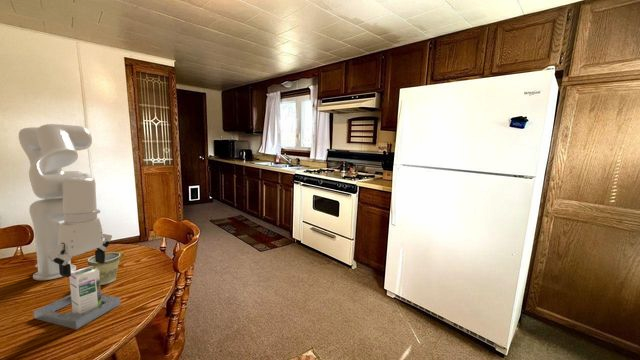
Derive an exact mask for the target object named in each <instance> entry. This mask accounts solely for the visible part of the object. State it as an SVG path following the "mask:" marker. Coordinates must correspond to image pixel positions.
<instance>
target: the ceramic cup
mask: <svg viewBox="0 0 640 360" xmlns="http://www.w3.org/2000/svg"><path fill="white" fill-rule="evenodd" d="M124 255H125V253H124V252H123V251H119V252H115V251H113V252H112V251H111V252H110V251H108V252H105V263H98V262H96V261H95V255H93V256H90V257H88V258H87V265H88V267H89V266H94V267H96V268H97V269H98V270H99V276H100V286H102V285H108V284H111V283H113V282H114V281H116V279H117V273H118V267H119V263H120V262H121V261H122V259H123V258H124V257H125V256H124Z"/></svg>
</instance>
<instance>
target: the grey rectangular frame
mask: <svg viewBox="0 0 640 360" xmlns="http://www.w3.org/2000/svg"><path fill="white" fill-rule="evenodd" d="M101 304H102V305H101V306H99V307H97V308H95V309H93V310H91V311H90V312H88V313H86V314H84V315H80V314H76V313H73V311H72V312H71V311H67V312H65V313H60V312H57V311H58V310H61V309H63V308H65V307H67V306H69V305H72V299H71V293H70V294H69V295H66V296H64V297H62V298H60V299H57V300H55V301H53V302H51V303H48V304H46V305H43V306H42V307H40V308H38V309H35V310H33V316H34V319H36V320H39V321H42V322H46V323H48V324H49V323H50V324H54V325H58V326H62V327H64V328H69V329H71V330H72V329H73V330H79V329H80V328H82V327H84V326H85V325H88V324H90V323H91V322H93V321H94V320H96V319H98V318H100V317H101V316H103V315H105V314H107V313H108V312H110V311H112V310H114V309H115V308H117V307H119V306H121V297H119V296H113V295H109V294H105V293H101Z"/></svg>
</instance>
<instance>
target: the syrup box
mask: <svg viewBox="0 0 640 360" xmlns="http://www.w3.org/2000/svg"><path fill="white" fill-rule="evenodd" d="M68 278H69V287H70V294H71V299H72V303H71V309H72V310H71V311H72V313H76V314H80V315H84V314H86V313H88V312H90V311H91V310H93V309H95V308H97V307H99V306H101V305H102V304H101V294H102V292H101V291H102V290H101V285H100V276H99V270H98V269H97V268H96V267H94V266H89V265H88V266H87V267H83V268H80V269H78V270H77V269H76V270H75V271H72V272H71V276H70V277H68Z"/></svg>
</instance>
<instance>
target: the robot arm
mask: <svg viewBox="0 0 640 360" xmlns="http://www.w3.org/2000/svg"><path fill="white" fill-rule="evenodd" d="M18 140H19V144H20V146H21V148H22V150H23V151H24V153H25V155H26V157H27V158H28V160H29V164H30V167H29V170H28V178H29V182H30V185H31V189H32V191H33V193H34V195H35V196H36V197H37V198H39V200H35V201H33V202H32V203H31V204H30V205H29V208H28V210H29V211H28V212H29V215H30V216H29V217H30V218H31V221H32V225H33V230H34V237H35V249H36V260H37V263H36V264H35V268H37V272H35V273H34V274H33V275H32V279H33V280H36V281H49V280H54V279H55V280H56V279H58V278H62V277H66V278H69V277H70V276H71V272H72V271H76V270H77V266H76V265H75V264H72V262H71V261H72V260H71V259H72V258H73V257H75V256H79V255H83V254H85V253H88V252H90V251H93V250H95V252H94V256H95V261H96V262H98V263H105V253H106V251H107V247H109V246H110V243H111V240H112V238H113V235H111V234H106V233H103V232H104V231H103V228H102V224H101V221H100V217H99V218H98V214H101V210H100V209H99V208H97V206H98V205H97V193H96V192H97V191H96V189H97V187H96V179H95V178H94V177H93V176H92V175H91V174H88V173H85V172H84V173H83V172H82V171H77V170H71V171H70V170H67V171H66V170H65V171H64V170H62V169H63V168H65V167H68V166H71V165H72V164H74V163H75V162H76V161H77V160H78V158H79V157H78V156H79V155H78V151H82V150H86V149H89V148H90V147H91V145H92V143H93V137H92V134H91V132H90V130H89V129H88V128H87V127H84V126H81V125H71V124H70V125H69V124H58V123H47V124H42V125H40V126H39V127H34V126H33V127H32V126H31V127H24V128H21V129H20V130H19V132H18ZM61 221H63V222H62V223H60V222H61Z"/></svg>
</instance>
